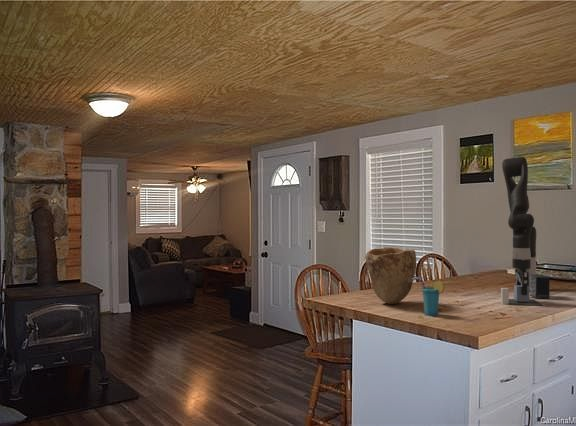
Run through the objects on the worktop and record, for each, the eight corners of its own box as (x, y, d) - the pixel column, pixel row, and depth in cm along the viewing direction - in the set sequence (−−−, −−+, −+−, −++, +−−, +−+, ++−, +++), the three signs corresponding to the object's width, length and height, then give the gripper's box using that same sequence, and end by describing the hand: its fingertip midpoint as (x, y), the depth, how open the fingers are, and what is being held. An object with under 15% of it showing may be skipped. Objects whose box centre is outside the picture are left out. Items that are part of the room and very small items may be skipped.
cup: (408, 314, 207) (408, 277, 207) (416, 311, 213) (416, 275, 213) (442, 318, 199) (441, 280, 199) (449, 314, 205) (448, 277, 205)
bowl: (357, 301, 236) (356, 248, 236) (396, 297, 245) (396, 246, 245) (384, 310, 216) (383, 251, 216) (427, 305, 225) (426, 249, 224)
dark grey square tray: (501, 299, 237) (501, 284, 237) (533, 300, 234) (533, 285, 234) (508, 305, 223) (508, 289, 223) (543, 306, 221) (542, 290, 221)
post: (501, 303, 228) (501, 287, 228) (507, 303, 228) (507, 287, 228) (502, 304, 226) (502, 288, 226) (508, 304, 225) (508, 288, 225)
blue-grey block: (514, 299, 232) (514, 285, 232) (526, 299, 231) (526, 285, 231) (516, 301, 227) (516, 286, 227) (529, 301, 226) (529, 286, 226)
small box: (550, 299, 236) (550, 277, 236) (535, 299, 238) (535, 276, 238) (543, 295, 247) (543, 274, 247) (529, 295, 248) (529, 274, 248)
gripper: (508, 256, 237) (509, 290, 237) (516, 259, 223) (516, 296, 223) (526, 256, 235) (526, 291, 235) (534, 259, 221) (535, 296, 221)
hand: (521, 293), depth 229 cm, fingers open, 8 cm apart
